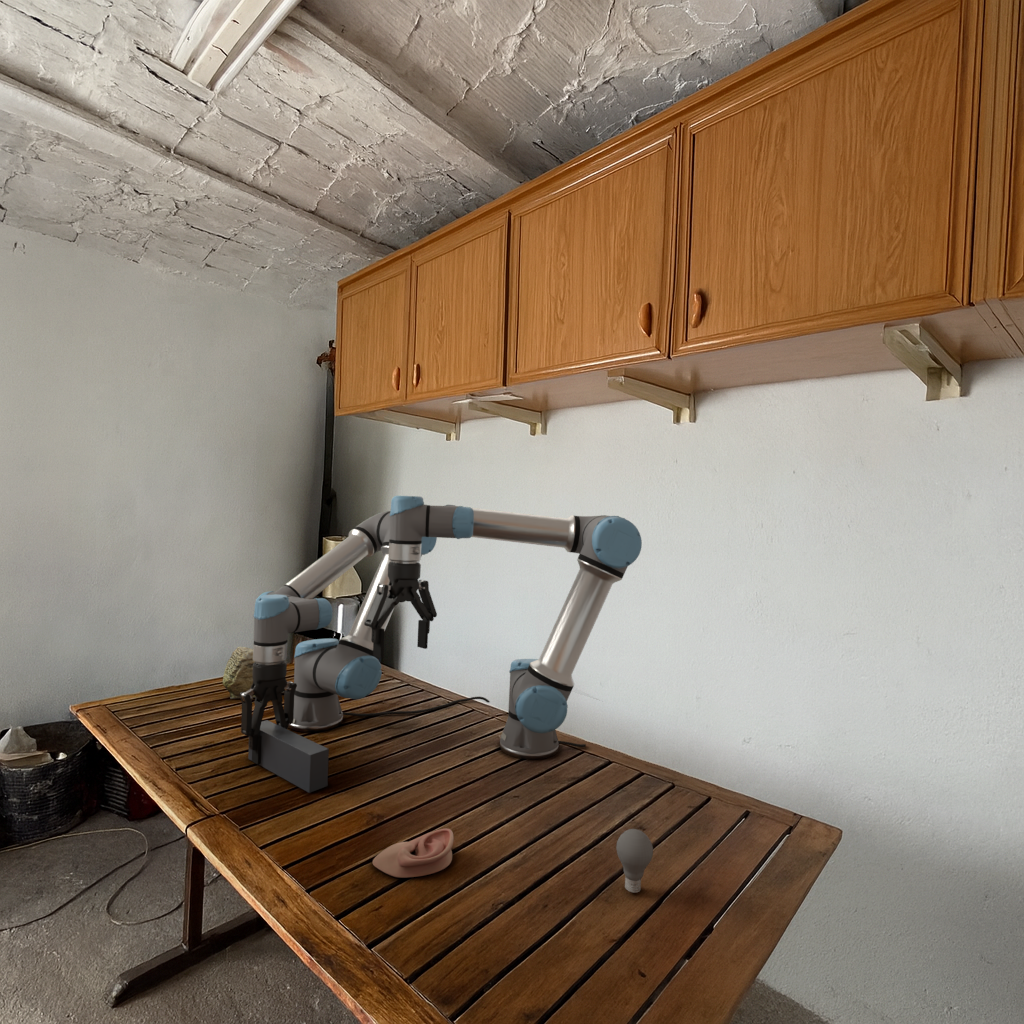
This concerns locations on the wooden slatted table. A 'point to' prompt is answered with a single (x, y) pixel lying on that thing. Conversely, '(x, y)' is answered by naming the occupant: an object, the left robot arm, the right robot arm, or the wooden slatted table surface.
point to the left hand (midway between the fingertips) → (266, 758)
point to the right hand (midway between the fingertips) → (400, 652)
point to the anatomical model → (417, 855)
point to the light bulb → (634, 857)
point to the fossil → (239, 672)
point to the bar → (293, 757)
